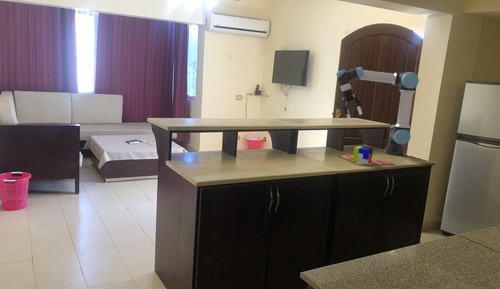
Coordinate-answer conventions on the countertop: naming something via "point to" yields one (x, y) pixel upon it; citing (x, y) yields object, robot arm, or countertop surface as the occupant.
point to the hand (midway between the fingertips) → (355, 116)
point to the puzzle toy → (362, 155)
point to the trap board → (373, 162)
